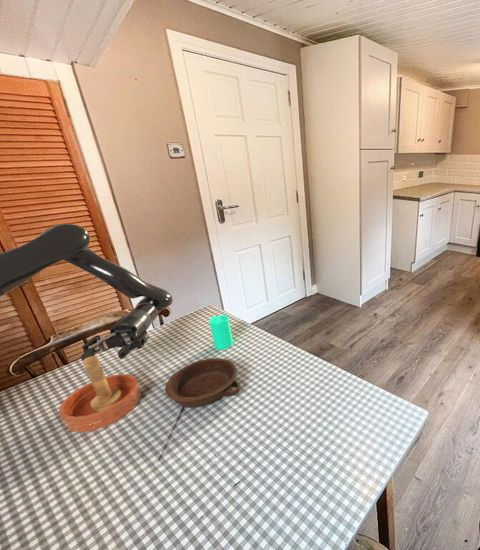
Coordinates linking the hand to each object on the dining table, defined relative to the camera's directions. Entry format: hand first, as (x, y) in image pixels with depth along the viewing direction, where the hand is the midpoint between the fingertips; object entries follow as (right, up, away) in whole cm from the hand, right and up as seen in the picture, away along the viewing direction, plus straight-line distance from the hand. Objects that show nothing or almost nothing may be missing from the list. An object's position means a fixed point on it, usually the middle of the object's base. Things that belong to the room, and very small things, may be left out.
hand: (102, 358), depth 80 cm
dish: (+24, -11, +7) cm, 27 cm away
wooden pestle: (+1, -12, +1) cm, 13 cm away
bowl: (+1, -14, 0) cm, 14 cm away
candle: (+20, -3, +27) cm, 34 cm away
